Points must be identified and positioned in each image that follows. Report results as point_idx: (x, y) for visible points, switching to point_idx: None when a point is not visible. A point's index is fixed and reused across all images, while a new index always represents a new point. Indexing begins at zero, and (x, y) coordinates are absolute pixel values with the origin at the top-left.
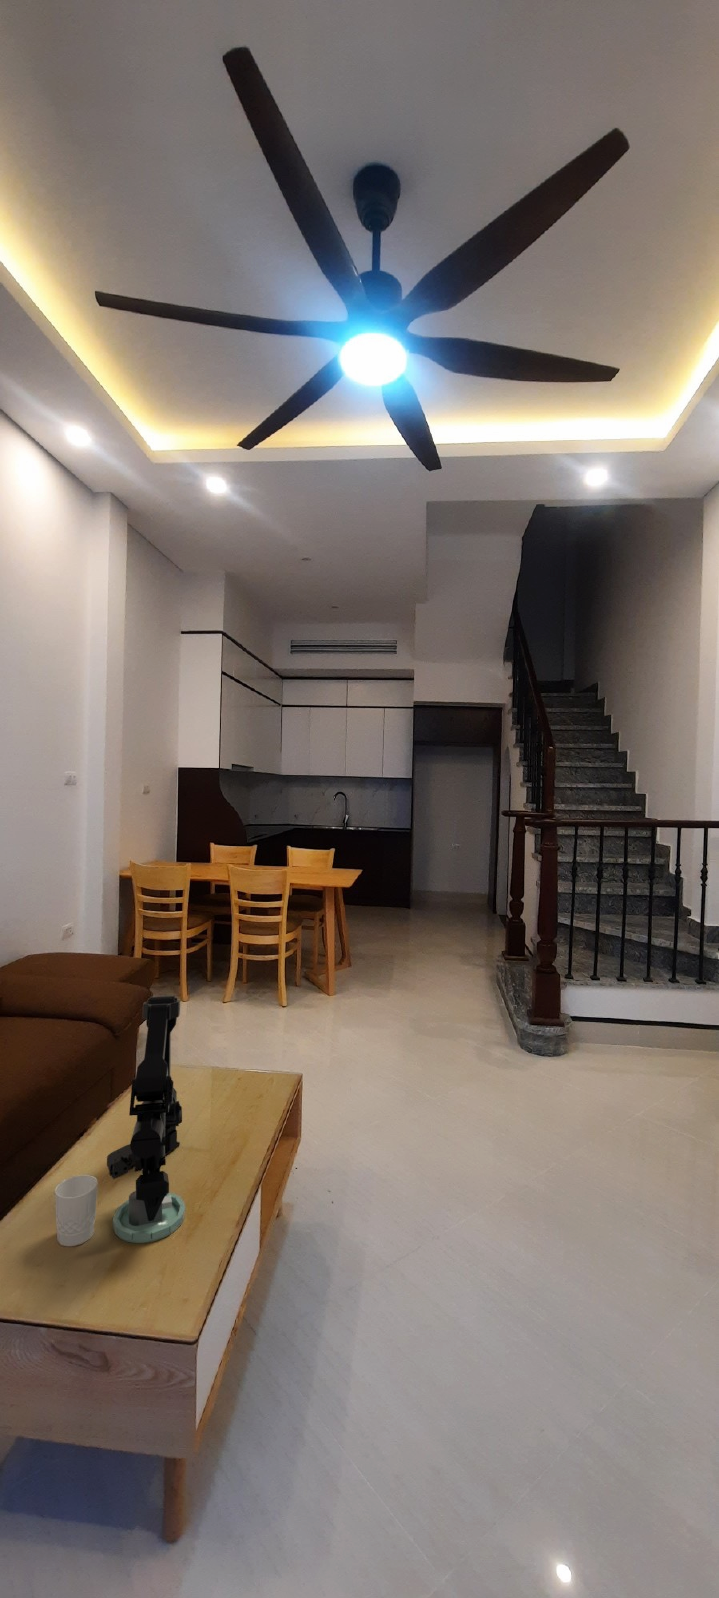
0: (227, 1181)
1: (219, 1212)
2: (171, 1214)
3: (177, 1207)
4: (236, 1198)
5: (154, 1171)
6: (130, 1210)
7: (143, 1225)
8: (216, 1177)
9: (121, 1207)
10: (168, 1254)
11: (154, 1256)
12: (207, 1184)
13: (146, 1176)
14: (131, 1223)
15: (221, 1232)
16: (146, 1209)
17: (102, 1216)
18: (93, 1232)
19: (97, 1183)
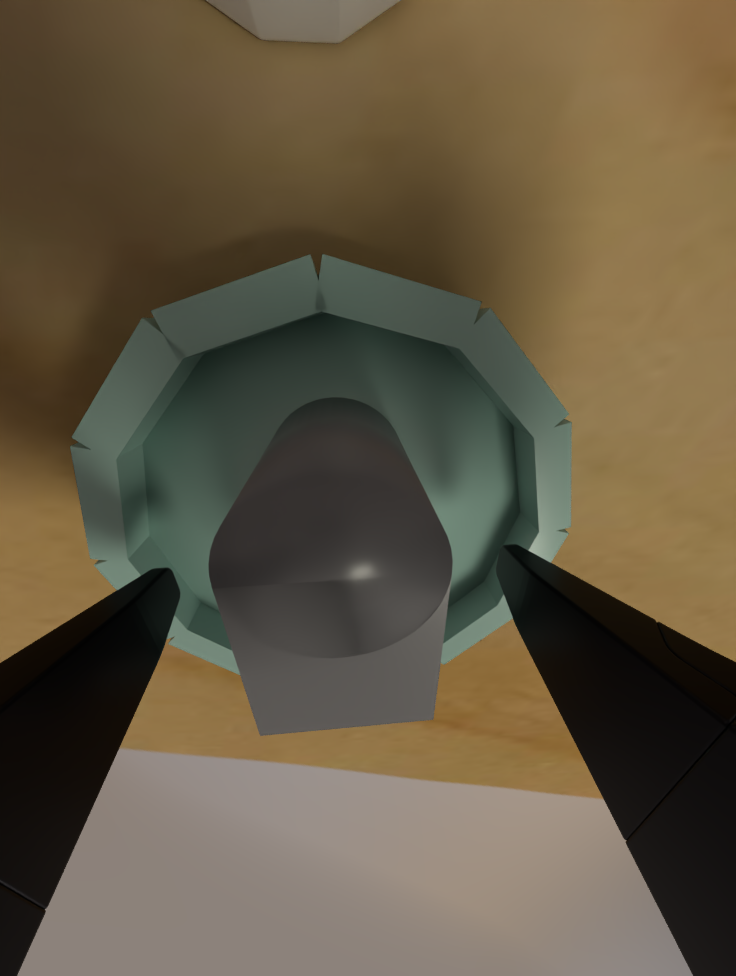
0: (499, 746)
1: (319, 733)
2: None
3: None
4: (385, 764)
5: (625, 780)
6: (277, 445)
7: None
8: (545, 723)
9: (476, 341)
10: (33, 598)
11: (5, 542)
12: (518, 703)
13: None
14: (284, 422)
15: (194, 739)
16: (2, 669)
17: (519, 157)
18: (257, 29)
19: None
